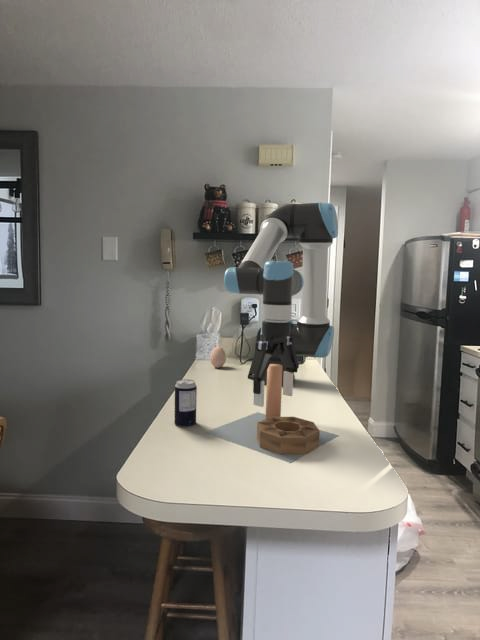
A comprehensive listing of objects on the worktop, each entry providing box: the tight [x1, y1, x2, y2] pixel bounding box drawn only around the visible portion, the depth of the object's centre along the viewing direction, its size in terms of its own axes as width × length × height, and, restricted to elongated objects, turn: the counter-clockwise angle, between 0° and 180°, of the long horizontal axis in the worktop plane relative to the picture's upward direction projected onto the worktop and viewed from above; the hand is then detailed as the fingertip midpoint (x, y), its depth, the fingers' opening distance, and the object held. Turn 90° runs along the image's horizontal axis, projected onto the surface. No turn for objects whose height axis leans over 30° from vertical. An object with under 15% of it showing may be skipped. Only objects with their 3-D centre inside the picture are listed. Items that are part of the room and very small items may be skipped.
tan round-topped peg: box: [265, 364, 283, 419], centre depth 119 cm, size 4×4×16 cm
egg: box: [209, 345, 227, 369], centre depth 187 cm, size 7×7×9 cm
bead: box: [257, 416, 321, 455], centre depth 107 cm, size 14×14×4 cm
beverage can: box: [174, 378, 198, 428], centre depth 118 cm, size 6×6×12 cm
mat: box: [204, 411, 340, 464], centre depth 113 cm, size 22×26×1 cm
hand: (273, 400), depth 119 cm, fingers open, 12 cm apart
